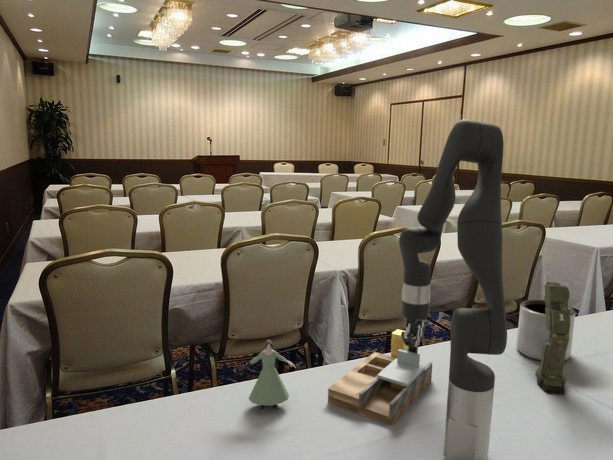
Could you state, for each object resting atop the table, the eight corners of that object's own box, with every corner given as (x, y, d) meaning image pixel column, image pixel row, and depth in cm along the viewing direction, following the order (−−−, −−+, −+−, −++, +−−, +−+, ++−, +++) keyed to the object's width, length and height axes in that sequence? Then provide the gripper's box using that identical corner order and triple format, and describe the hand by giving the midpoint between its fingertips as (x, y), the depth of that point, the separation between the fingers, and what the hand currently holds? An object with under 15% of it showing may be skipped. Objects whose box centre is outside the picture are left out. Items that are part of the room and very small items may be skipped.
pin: (402, 367, 150) (404, 336, 148) (390, 364, 152) (391, 333, 150) (407, 362, 153) (409, 332, 151) (395, 359, 155) (397, 329, 153)
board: (391, 425, 120) (392, 404, 119) (327, 402, 130) (328, 383, 129) (431, 380, 142) (432, 362, 141) (374, 364, 152) (374, 347, 151)
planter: (580, 364, 153) (586, 316, 150) (527, 363, 153) (532, 315, 150) (556, 343, 169) (561, 299, 166) (508, 342, 169) (512, 298, 166)
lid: (407, 386, 127) (408, 371, 126) (377, 377, 131) (377, 362, 131) (424, 369, 136) (425, 354, 136) (395, 361, 141) (396, 346, 140)
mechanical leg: (574, 399, 131) (577, 285, 132) (544, 396, 132) (548, 283, 134) (558, 386, 144) (561, 282, 146) (531, 383, 146) (535, 281, 147)
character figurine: (234, 418, 122) (233, 349, 118) (233, 401, 130) (232, 336, 126) (298, 412, 125) (299, 345, 121) (293, 396, 133) (293, 332, 129)
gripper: (419, 308, 129) (416, 370, 132) (437, 295, 139) (433, 353, 143) (393, 302, 133) (390, 363, 136) (412, 290, 144) (409, 346, 147)
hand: (412, 357), depth 139 cm, fingers closed
